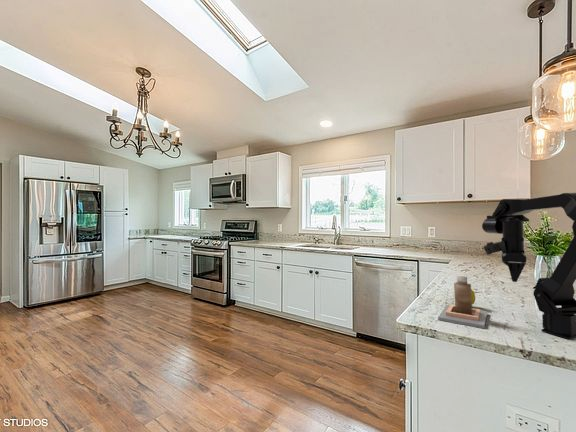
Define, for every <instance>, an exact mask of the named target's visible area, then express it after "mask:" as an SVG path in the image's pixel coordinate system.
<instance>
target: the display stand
mask: <svg viewBox="0 0 576 432" xmlns="http://www.w3.org/2000/svg"><path fill="white" fill-rule="evenodd" d="M487 319H488V311H487V310H483V309H479V308H473V307H472V315H467V314H461V313H455V304H449V305H448V304H446V305H445V306H444V308H443V310H441V312H440V313H439V315H438V317H437V321H440V320H441V321H440V322H446V323H452V324H457V325H462V326H463V325H464V326H467V327H474V328H479V329H485V328H486V324H487V323H486V322H487Z"/></svg>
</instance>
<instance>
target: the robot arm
mask: <svg viewBox="0 0 576 432" xmlns="http://www.w3.org/2000/svg"><path fill="white" fill-rule="evenodd" d="M558 208H562V209H563V210H564V214H565V215H566V217H568V218H569V219H571V220H572V222H573V223H572V226H571V228H572V234H573V237H572V239H571V241H570V243H569V244H568V246H567V248H566V250H564V253H563V254H562V257H561V258H560V260H559V261H558V264H557V265H556V266H555V268H554V270H553V272H552V274H551V275H550V276H549V277H540V278H538V279H537V281H536V284H535V286H533V287H532V289H533V293H532V294H533V295H532V296H533V297H534V300H535V302H536V305H537V308H538V311H539V312H541V313H542V316H541V317H542V328H541V332H544V333H546V334H550V335H554V336H557V337H560V338H563V339H566V340H571V339H573V338H576V299H575V297H574V296H575V287H574V283H575V282H576V192H563V193H560V194H555V195H548V196H541V197H533V198H507V199H506V198H503V199H501V200H500V201H499V203H498V204H497V207H495V210H494V212H493V213H492V215H486V218H485V220H484V221H483V223H481V228H482V230H483V232H485V233H487V234H498V235H499V234H500V235H502V237H501V241H496V242H493V241H490V242H487V243H486V244H484V245H483V249H484V252H485V253H486V255H488V256H489V255H492V254H495V253H498V252H501V262H502V263H503V264H504V265H506V266H507V267H508V270H509V274H510V277H511V281H512V282H514V283H517V282H518V279H519V277H520V276H521V273H523V270H524V267H525V266H526V265H527V255H526V254H525V238H524V222H525V223H526V222H529V221H530V219H529V218H528V217H526V216H525V214H529V213H530V212H533V211H539V210H548V209H558ZM559 306H561V307H559Z"/></svg>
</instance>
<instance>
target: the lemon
mask: <svg viewBox="0 0 576 432" xmlns="http://www.w3.org/2000/svg"><path fill="white" fill-rule="evenodd" d="M471 299H472V305H474V304H475V302H476V295H475V291H474V290H473V289H472V288H471Z"/></svg>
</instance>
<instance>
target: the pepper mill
mask: <svg viewBox="0 0 576 432" xmlns="http://www.w3.org/2000/svg"><path fill="white" fill-rule="evenodd" d="M456 279H457V280H456V281H457V282H455V283H453V286H454V287H453V290H454V306H455V313H461V314H467V315H472V308H473V304H472V299H471V289H472V285H471V284H470V283H468V277H467V276H462V275H461V276H460V275H459V276H456Z"/></svg>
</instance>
